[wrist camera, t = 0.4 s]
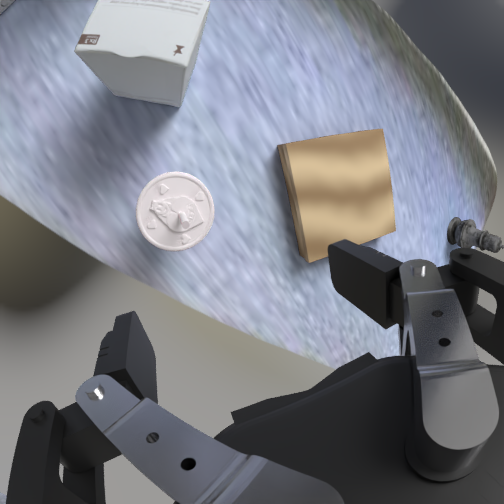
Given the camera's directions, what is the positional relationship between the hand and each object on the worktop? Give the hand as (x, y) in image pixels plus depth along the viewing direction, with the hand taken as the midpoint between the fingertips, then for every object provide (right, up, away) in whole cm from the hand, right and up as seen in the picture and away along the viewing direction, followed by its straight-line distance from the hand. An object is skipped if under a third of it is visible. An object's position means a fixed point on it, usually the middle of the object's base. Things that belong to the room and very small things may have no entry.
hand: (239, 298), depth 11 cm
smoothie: (-8, +7, +20) cm, 23 cm away
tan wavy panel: (+11, +10, +25) cm, 30 cm away
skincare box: (-10, +21, +16) cm, 28 cm away
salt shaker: (+38, +6, +35) cm, 52 cm away
